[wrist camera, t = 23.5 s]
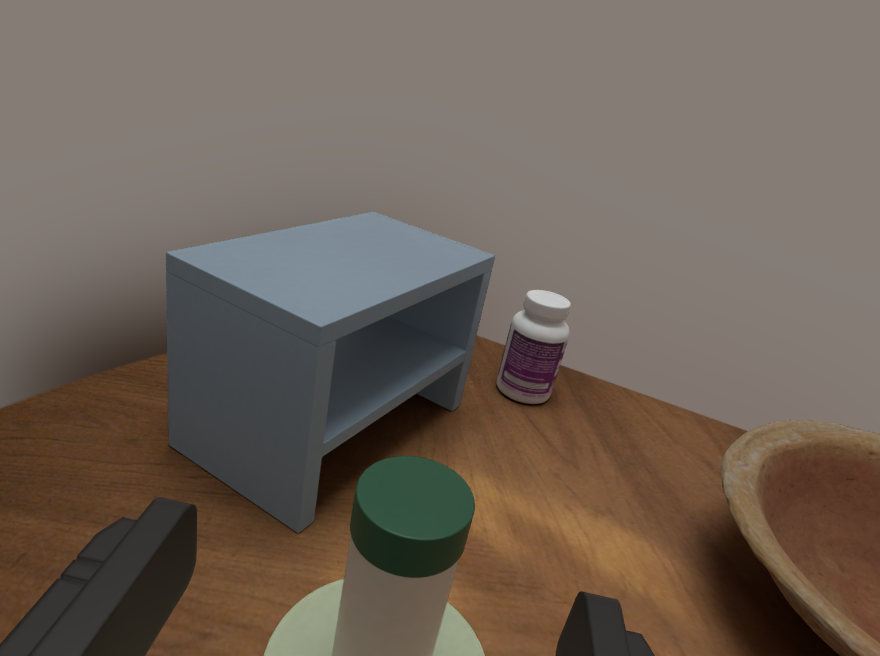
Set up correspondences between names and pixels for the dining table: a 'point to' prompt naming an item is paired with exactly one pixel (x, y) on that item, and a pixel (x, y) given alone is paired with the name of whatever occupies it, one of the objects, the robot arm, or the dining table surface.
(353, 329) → the shelf
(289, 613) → the mat
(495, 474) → the dining table surface
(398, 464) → the spice bottle
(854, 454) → the bowl
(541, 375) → the pill bottle
